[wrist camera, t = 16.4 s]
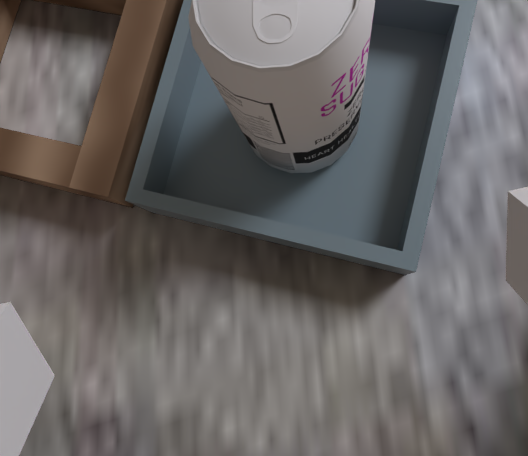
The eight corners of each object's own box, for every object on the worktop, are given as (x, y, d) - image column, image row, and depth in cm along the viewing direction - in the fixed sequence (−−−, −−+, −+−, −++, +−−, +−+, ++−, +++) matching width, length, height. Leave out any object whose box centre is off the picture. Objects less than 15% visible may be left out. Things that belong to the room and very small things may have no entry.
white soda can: (245, 70, 35) (180, -90, 21) (358, 62, 34) (375, -114, 19) (244, 177, 34) (174, 88, 19) (361, 173, 33) (381, 75, 18)
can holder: (-65, 158, 39) (-109, 143, 35) (2, -39, 41) (-34, -74, 37) (132, 207, 36) (108, 197, 32) (195, -9, 38) (179, -44, 34)
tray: (150, 212, 36) (124, 200, 31) (213, -7, 38) (197, -47, 33) (405, 275, 32) (415, 271, 28) (460, 31, 34) (479, -7, 30)
